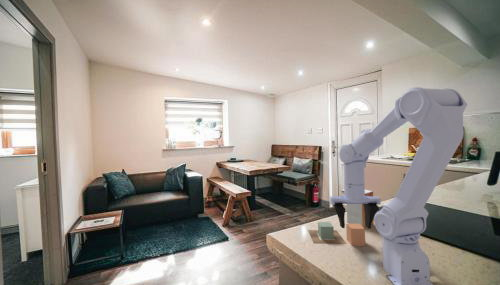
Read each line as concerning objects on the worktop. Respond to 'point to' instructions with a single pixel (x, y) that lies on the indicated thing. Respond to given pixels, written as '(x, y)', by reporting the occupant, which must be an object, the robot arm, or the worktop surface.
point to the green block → (325, 230)
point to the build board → (318, 240)
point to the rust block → (355, 234)
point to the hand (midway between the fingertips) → (355, 226)
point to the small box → (357, 212)
